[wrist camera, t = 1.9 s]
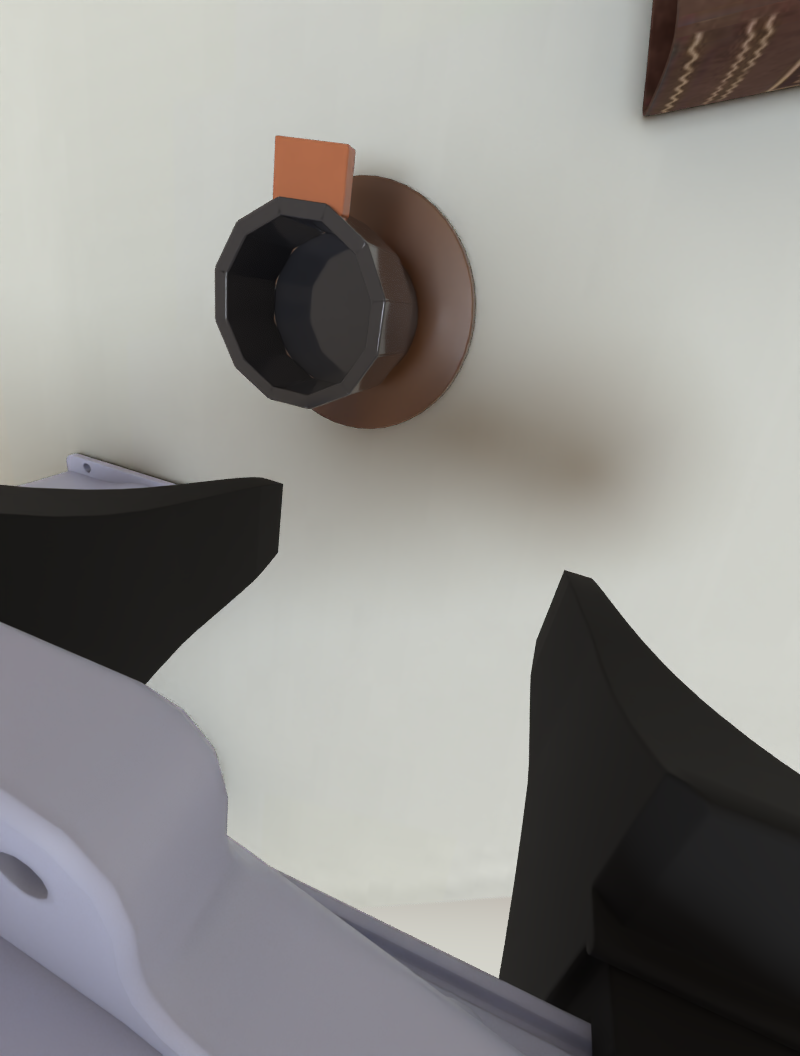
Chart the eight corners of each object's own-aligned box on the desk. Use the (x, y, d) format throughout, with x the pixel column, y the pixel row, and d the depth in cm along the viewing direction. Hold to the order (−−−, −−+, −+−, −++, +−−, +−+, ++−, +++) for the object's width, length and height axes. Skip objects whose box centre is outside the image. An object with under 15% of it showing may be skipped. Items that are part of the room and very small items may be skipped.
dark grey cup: (290, 372, 20) (214, 385, 16) (302, 175, 17) (213, 123, 13) (413, 401, 19) (368, 424, 15) (450, 195, 16) (407, 147, 12)
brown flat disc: (262, 401, 22) (255, 402, 21) (271, 164, 18) (262, 159, 17) (447, 448, 20) (444, 451, 19) (503, 196, 16) (501, 192, 15)
